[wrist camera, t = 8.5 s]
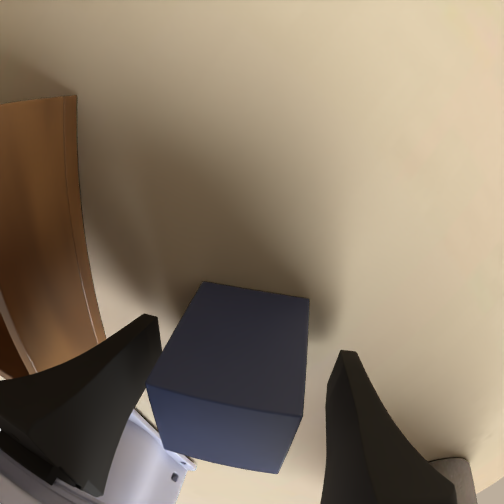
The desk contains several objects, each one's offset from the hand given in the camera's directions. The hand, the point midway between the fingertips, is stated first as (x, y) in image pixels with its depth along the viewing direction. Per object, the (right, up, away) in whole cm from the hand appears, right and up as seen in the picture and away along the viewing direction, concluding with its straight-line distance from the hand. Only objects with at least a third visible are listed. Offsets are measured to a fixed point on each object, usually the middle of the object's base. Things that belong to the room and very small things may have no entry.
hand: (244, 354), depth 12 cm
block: (0, +1, +1) cm, 2 cm away
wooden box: (-13, +5, +1) cm, 14 cm away
